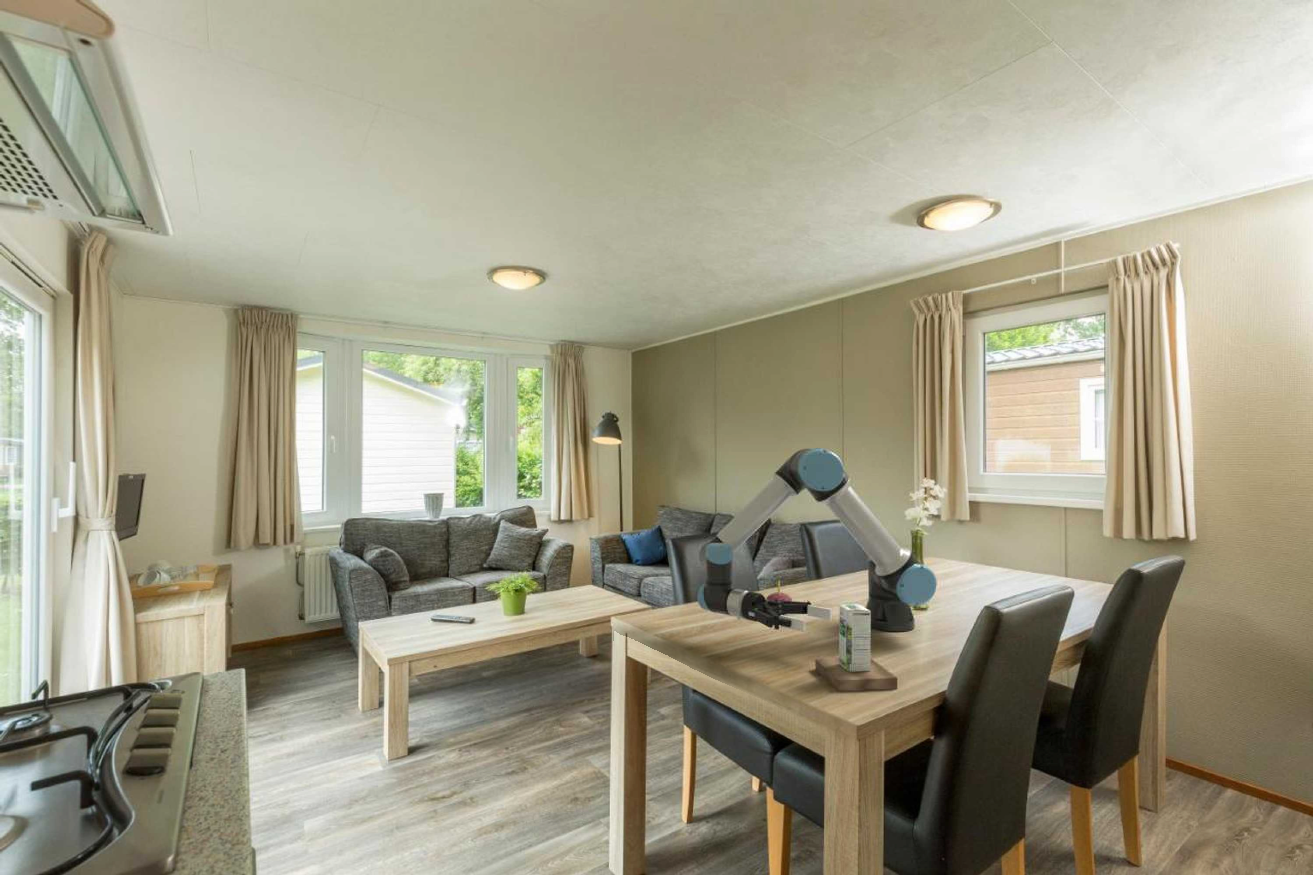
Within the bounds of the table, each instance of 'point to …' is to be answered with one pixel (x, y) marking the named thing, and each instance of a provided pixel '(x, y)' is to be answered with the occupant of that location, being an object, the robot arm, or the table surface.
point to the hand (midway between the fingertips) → (818, 620)
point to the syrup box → (854, 637)
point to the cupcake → (778, 596)
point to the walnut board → (855, 676)
